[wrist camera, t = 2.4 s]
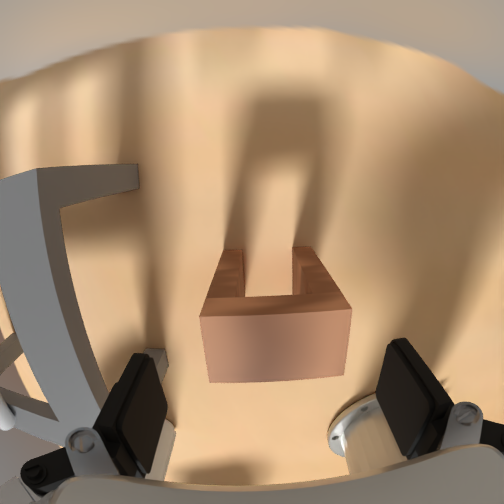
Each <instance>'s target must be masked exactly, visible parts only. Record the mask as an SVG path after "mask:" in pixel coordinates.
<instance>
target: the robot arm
mask: <svg viewBox="0 0 504 504" xmlns="http://www.w3.org/2000/svg"><path fill="white" fill-rule="evenodd" d="M167 409H168V406H167V401H166V398H165V395H164V392H163V389H162V386H161V383H160V379H159V376H158V373H157V369H156V366H155V362H154V359H153V358H152V357H149V355H148V354H143V353H134V354H133V355H132V357H131V359H130V361H129V363H128V364H127V366H126V368H125V370H124V372H123V374H122V376H121V378H120V380H119V382H117V383H115V385H114V386H113V388H112V390H111V392H110V394H109V395H108V397H107V399H106V401H105V403H104V405H103V407H102V409H101V411H100V413H99V415H98V417H97V419H96V421H95V423H94V425H93V427H92V428H89V427H80V428H76V429H74V430H72V431H71V432H70V433H69V434H68V435H67V437H66V439H65V447H63V448H61V449H58V450H56V451H53V452H51V453H48V454H45V455H42V456H40V457H37V458H34V459H31V460H29V461H27V462H26V463H25V464H24V465H23V467H22V468H21V473H20V474H21V476H20V477H19V478H17V477H16V476H15V477H13V478H12V479H10V480H9V481H7V482H6V483H5V484H3V485H2V486H0V504H504V425H503V424H499V423H495V422H491V421H488V420H484V419H483V413H482V411H481V409H480V408H479V407H478V406H477V405H475V404H473V403H471V402H460V403H457V404H456V405H454V403H453V402H452V400H451V398H450V397H449V395H448V394H447V393H446V391H445V390H444V388H443V387H442V386H441V384H440V383H439V381H438V380H437V379H436V377H435V376H434V375H433V373H432V372H431V370H430V369H429V368H428V366H427V365H426V364H425V362H424V361H423V360H422V358H421V357H420V356H419V354H418V353H417V352H416V350H415V349H414V348H413V346H412V345H411V344H410V343H409V341H408V340H407V339H406V338H400V339H394V340H392V341H391V343H390V344H388V345H387V348H386V353H385V357H384V361H383V365H382V369H381V373H380V377H379V381H378V385H377V388H376V393H375V394H372V395H370V396H367V397H365V398H363V399H361V400H359V401H358V402H356V403H354V404H353V405H351V406H350V407H348V408H347V409H345V410H344V411H343V412H342V413H341V414H340V415H339V416H338V417H337V418H336V419H335V420H334V422H333V423H332V424H331V426H330V428H329V431H328V434H327V440H328V444H329V447H330V449H331V450H332V451H333V452H334V453H335V454H337V455H340V456H342V457H345V458H346V462H347V466H348V470H349V473H350V475H345V476H339V477H334V478H327V479H321V480H314V481H306V482H297V483H286V484H272V485H244V486H229V485H202V484H188V483H177V482H167V481H159V480H151V479H145V476H146V474H149V473H150V472H151V468H152V464H153V461H154V457H155V453H156V450H157V446H158V442H159V439H160V435H161V432H162V428H163V424H164V421H165V417H166V414H167Z"/></svg>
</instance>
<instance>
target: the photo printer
mask: <svg viewBox="0 0 504 504" xmlns="http://www.w3.org/2000/svg"><path fill="white" fill-rule="evenodd" d="M175 437H176V431H174V426H173V425H172V424H171V423H170V422H169V421H168V420H166V419H165V421H164V424H163V428H162V432H161V435H160V439H159V442H158V446H157V450H156V453H155V457H154V461H153V464H152V468H151V472H150V473H149V474H146V476H145V479H151V480H159V481H164V479H165V475H166V472H167V468H168V464H169V460H170V456H171V453H172V449H173V445H174V441H175Z"/></svg>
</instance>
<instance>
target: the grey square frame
mask: <svg viewBox="0 0 504 504" xmlns="http://www.w3.org/2000/svg"><path fill="white" fill-rule="evenodd" d="M134 189H139V176H138V164H106V165H80V166H62V167H48V168H36V169H33V170H29V171H26V172H23V173H19V174H16V175H13V176H10V177H7V178H4V179H1V180H0V285H1V289H2V292H3V296H4V299H5V302H6V306H7V309H8V312H9V315H10V318H11V320H12V323H13V326H14V329H15V331H16V333H12V334H11V335H10V336H9V337H8V338H6V339H5V340H4V341H3V342H2V343H1V344H0V375H1V374H2V373H3V372H4V371H5V370H6V369H7V368H8V367H9V366H10V365H11V364H12V363H13V362H14V361H15V360H16V359H17V358H18V357H19V356H20V355H21V354H22V353H23V352H24V354H25V356H26V358H27V361H28V363H29V365H30V367H31V370H32V372H33V374H34V376H35V378H36V380H37V382H38V384H39V386H40V388H41V390H42V392H43V394H44V396H45V397H46V399H47V401H48V403H46V402H43V401H39V400H36V399H33V398H30V397H27V396H24V395H21V394H19V393H16V392H13V391H10V390H7V389H5V388H2V387H0V429H1V430H9V429H11V428H12V427H15V428H17V429H19V430H22V431H24V432H26V433H29V434H31V435H34V436H36V437H38V438H41V439H43V440H46V441H49V442H51V443H54V444H57V445H60V446H62V447H65V439H66V437H67V435H68V434H69V433H70V432H71V431H72V430H74V429H76V428H80V427H89V428H92V427H93V425H94V423H95V421H96V419H97V417H98V415H99V413H100V411H101V409H102V407H103V405H104V403H105V401H106V399H107V397H108V395H109V393H108V390H107V388H106V385H105V383H104V380H103V378H102V375H101V373H100V370H99V368H98V365H97V362H96V359H95V357H94V354H93V351H92V348H91V345H90V342H89V339H88V336H87V333H86V330H85V327H84V323H83V320H82V316H81V313H80V309H79V306H78V302H77V298H76V295H75V291H74V286H73V282H72V278H71V274H70V269H69V264H68V259H67V254H66V249H65V244H64V238H63V232H62V225H61V218H60V211H59V208H62V207H65V206H69V205H73V204H76V203H80V202H84V201H88V200H92V199H96V198H100V197H104V196H108V195H112V194H117V193H121V192H125V191H130V190H134ZM143 354H148V355H149V357H152V358H153V359H154V362H155V366H156V369H157V373H158V376H159V379H160V383H162V381H163V378H164V376H165V373H166V371H167V368H168V366H169V365H168V361H167V357H166V352H165V349H148V348H146V349H145V351H144V353H143Z"/></svg>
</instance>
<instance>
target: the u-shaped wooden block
mask: <svg viewBox="0 0 504 504" xmlns="http://www.w3.org/2000/svg"><path fill="white" fill-rule="evenodd" d="M292 268H293V295H281V296H260V297H245V291H244V275H243V258H242V250H223V252H222V255H221V258H220V261H219V263H218V266H217V269H216V271H215V274H214V277H213V280H212V282H211V285H210V288H209V291H208V294H207V296H206V299H205V302H204V305H203V308H202V310H201V313H200V316H199V318H200V325H201V332H202V339H203V345H204V352H205V358H206V364H207V370H208V376H209V382H210V383H247V382H273V381H290V380H303V379H314V378H324V377H333V376H341V375H344V369H345V363H346V356H347V349H348V341H349V333H350V325H351V316H352V308H351V306H350V305H349V303H348V302H347V300H346V299H345V297H344V295H343V294H342V292H341V291H340V289H339V288H338V286H337V285H336V283H335V282H334V280H333V279H332V277H331V276H330V274H329V273H328V271H327V270H326V268H325V267H324V265H323V264H322V262H321V261H320V259H319V258H318V256H317V255H316V254H315V252H314V251H313V249H312V248H311V247H292Z"/></svg>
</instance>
